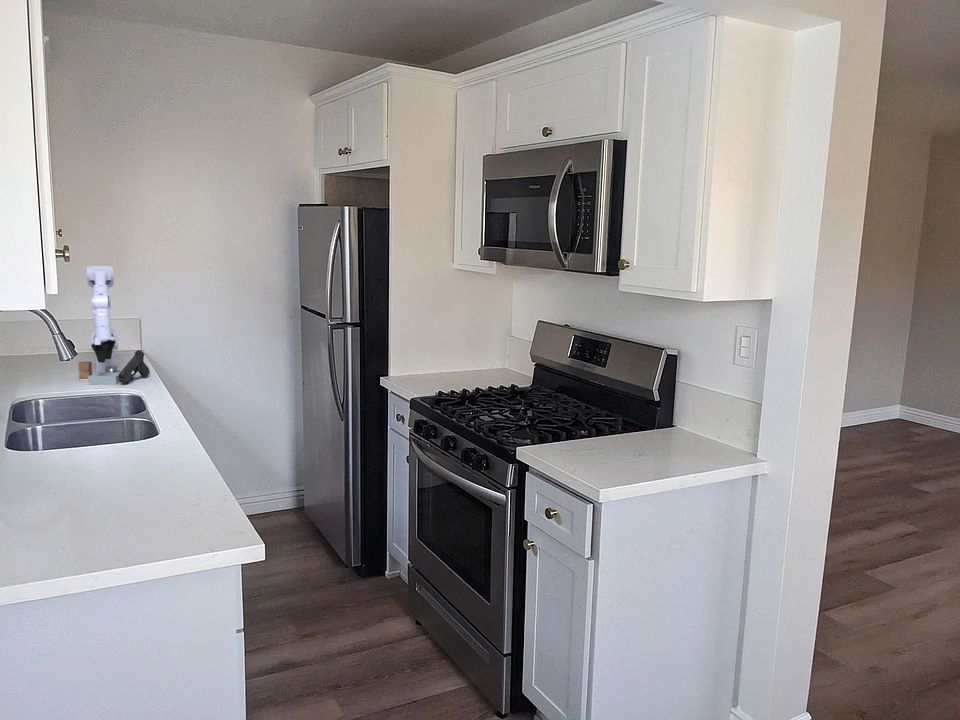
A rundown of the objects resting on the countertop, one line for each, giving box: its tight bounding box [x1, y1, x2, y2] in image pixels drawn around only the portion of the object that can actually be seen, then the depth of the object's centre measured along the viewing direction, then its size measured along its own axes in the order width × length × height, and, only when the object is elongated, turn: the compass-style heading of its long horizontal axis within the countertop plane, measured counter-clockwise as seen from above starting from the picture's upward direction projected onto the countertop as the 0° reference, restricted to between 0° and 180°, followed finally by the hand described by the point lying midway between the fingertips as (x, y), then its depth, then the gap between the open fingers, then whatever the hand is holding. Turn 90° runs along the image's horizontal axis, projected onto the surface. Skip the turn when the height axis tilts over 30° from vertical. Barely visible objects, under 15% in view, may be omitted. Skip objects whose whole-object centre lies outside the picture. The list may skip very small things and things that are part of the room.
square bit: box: [77, 361, 93, 380], centre depth 297 cm, size 4×4×7 cm
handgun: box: [118, 349, 151, 385], centre depth 296 cm, size 2×17×12 cm, turn 174°
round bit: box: [105, 365, 119, 372], centre depth 301 cm, size 4×4×5 cm
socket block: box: [87, 371, 121, 385], centre depth 294 cm, size 9×10×3 cm
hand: (104, 360), depth 293 cm, fingers open, 7 cm apart
